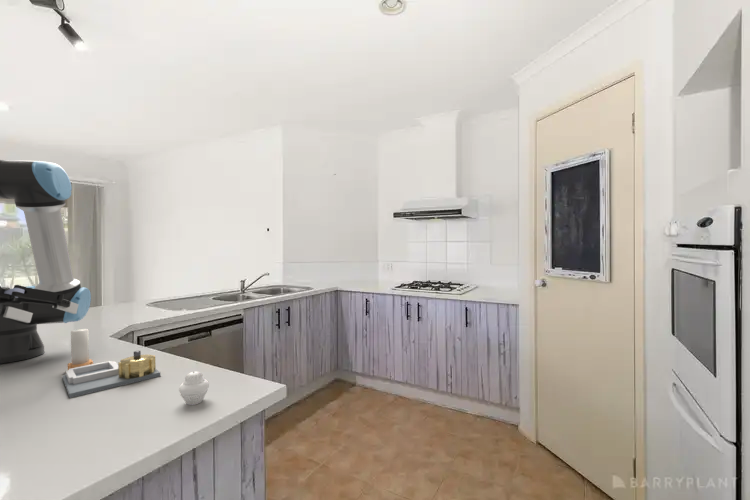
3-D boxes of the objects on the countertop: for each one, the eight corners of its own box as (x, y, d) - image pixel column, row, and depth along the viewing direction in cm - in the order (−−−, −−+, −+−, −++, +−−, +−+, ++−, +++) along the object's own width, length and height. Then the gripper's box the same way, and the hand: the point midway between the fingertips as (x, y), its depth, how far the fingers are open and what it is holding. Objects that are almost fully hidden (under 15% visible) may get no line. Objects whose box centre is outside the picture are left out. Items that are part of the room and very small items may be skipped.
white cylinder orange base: (67, 369, 105) (66, 330, 105) (91, 364, 109) (90, 327, 109) (69, 374, 101) (68, 333, 101) (94, 368, 105) (93, 330, 105)
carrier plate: (62, 379, 97) (62, 370, 97) (143, 362, 110) (143, 354, 110) (69, 397, 84) (69, 387, 84) (160, 375, 98) (160, 366, 98)
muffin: (173, 408, 78) (172, 376, 77) (189, 396, 84) (188, 366, 84) (200, 408, 77) (199, 376, 77) (214, 396, 83) (214, 366, 83)
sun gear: (115, 373, 97) (115, 352, 97) (151, 366, 103) (150, 345, 103) (122, 381, 91) (121, 358, 91) (159, 372, 97) (158, 351, 97)
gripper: (-93, 313, 79) (7, 334, 98) (12, 293, 78) (92, 318, 97) (-79, 282, 82) (15, 308, 101) (22, 262, 81) (98, 292, 100)
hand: (53, 313), depth 99 cm, fingers open, 13 cm apart
